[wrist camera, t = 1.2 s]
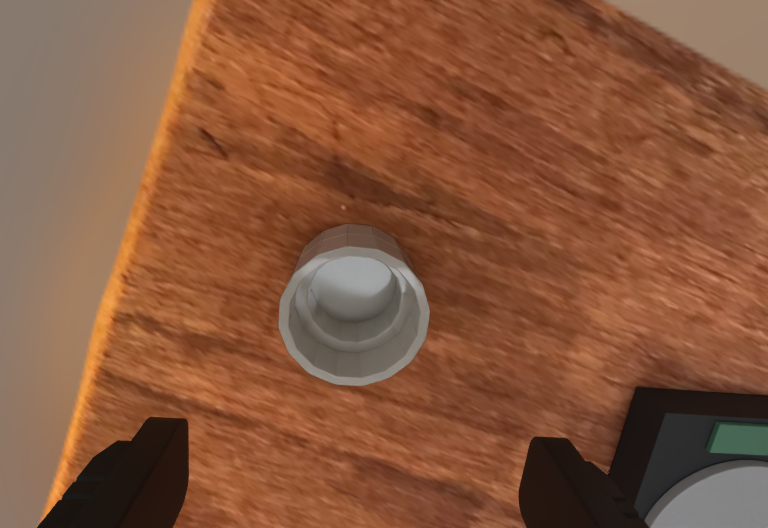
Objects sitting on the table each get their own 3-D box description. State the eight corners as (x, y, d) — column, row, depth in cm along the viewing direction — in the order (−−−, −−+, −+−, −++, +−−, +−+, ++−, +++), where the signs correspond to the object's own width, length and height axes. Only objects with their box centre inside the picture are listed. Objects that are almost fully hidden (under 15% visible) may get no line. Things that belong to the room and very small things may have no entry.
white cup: (298, 216, 21) (283, 239, 16) (419, 228, 22) (439, 255, 17) (290, 329, 23) (275, 380, 18) (404, 337, 23) (417, 390, 19)
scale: (636, 386, 25) (674, 420, 22) (818, 398, 27) (877, 432, 24) (578, 569, 29) (604, 619, 26) (740, 573, 30) (782, 620, 28)
